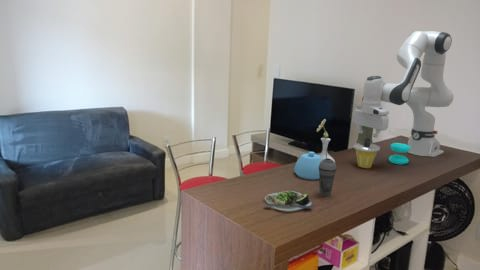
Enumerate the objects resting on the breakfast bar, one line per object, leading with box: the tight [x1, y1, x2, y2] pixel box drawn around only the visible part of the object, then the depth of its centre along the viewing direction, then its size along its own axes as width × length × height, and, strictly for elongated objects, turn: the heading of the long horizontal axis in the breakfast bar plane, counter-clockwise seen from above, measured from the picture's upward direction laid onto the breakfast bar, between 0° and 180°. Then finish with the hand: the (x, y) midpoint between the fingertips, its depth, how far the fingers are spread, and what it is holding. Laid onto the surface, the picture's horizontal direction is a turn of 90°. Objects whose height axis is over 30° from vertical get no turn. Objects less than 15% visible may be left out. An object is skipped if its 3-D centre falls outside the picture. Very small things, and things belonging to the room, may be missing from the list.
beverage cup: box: [318, 147, 337, 197], centre depth 151 cm, size 7×7×20 cm
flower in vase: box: [316, 118, 336, 163], centre depth 188 cm, size 13×11×25 cm
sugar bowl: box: [293, 151, 322, 181], centre depth 174 cm, size 15×15×12 cm
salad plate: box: [264, 190, 314, 213], centre depth 142 cm, size 19×18×5 cm
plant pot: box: [355, 149, 378, 169], centre depth 189 cm, size 10×10×10 cm
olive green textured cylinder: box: [356, 95, 374, 144], centre depth 212 cm, size 9×12×35 cm
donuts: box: [388, 142, 410, 166], centre depth 197 cm, size 10×10×10 cm
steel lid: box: [353, 138, 381, 153], centre depth 187 cm, size 13×13×5 cm
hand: (367, 135), depth 187 cm, fingers open, 8 cm apart
